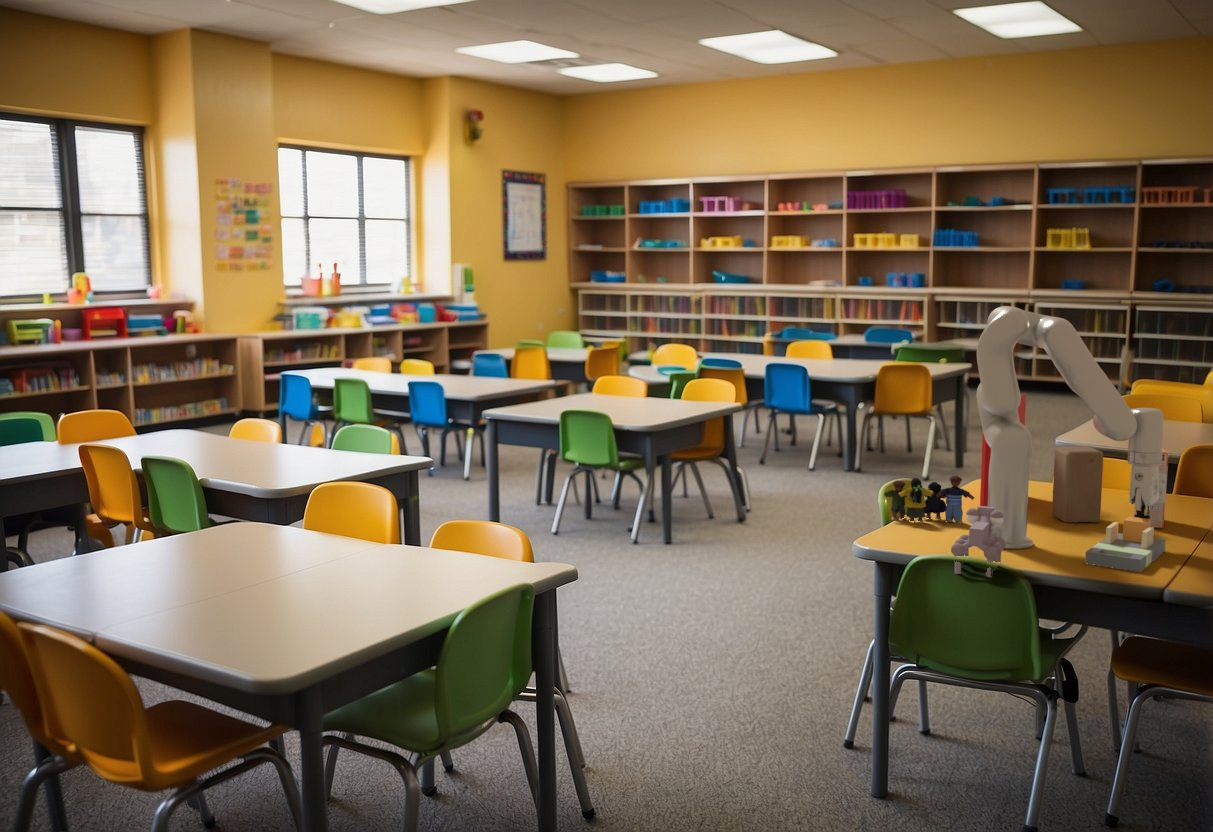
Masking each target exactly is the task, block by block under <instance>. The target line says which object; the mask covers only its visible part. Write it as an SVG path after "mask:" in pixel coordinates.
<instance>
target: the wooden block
mask: <svg viewBox="0 0 1213 832" xmlns="http://www.w3.org/2000/svg"><path fill="white" fill-rule="evenodd" d="M1103 469H1104V452H1103V451H1101V450H1099V449H1096V448H1093V447H1090V446H1086V445H1085V446H1084V445H1083V446H1082V445H1078V446H1077V445H1076V446H1075V445H1074V446H1073V445H1071V446H1068V445H1067V446H1056V447H1055V449H1054V464H1053V481H1052V483H1053V484H1052V485H1053V486H1052V487H1053V488H1052V507H1051V513H1052V516H1053V517H1054V518H1057V519H1059V520H1060V521H1062V522H1064V523H1066V522H1097V523H1099V522H1100V521H1101V513H1102V512H1101V510H1102V490H1103V489H1102V488H1103V473H1104V472H1103Z"/></svg>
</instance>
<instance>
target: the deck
mask: <svg viewBox="0 0 1213 832" xmlns="http://www.w3.org/2000/svg"><path fill="white" fill-rule="evenodd" d="M1119 523H1120V522H1117V521H1114V522H1112V523H1110V524H1109V525H1108V526H1106V529H1105V537H1104V538H1103V539H1102V540H1101V541H1099V542H1098V543H1097V544H1095V545H1093V546H1092V547H1090V548H1089V549H1088V550H1086V551H1085V558H1084V561H1085V562H1084V564H1085V563H1088V564H1095V565H1100V566H1099V567H1101V566H1107V567H1106V568H1108V567H1113V568H1112V569H1114V568H1118V569H1117V570H1121V569H1123V571H1127V570H1129V572H1135V573H1142V571H1144V570H1145V569H1146V568H1147V567H1149V566H1150V565H1151V564H1150V563H1151V562H1152V561H1153V562H1154V561H1155V560H1157V559H1158V558H1159V557H1160V556H1162V554H1164V553H1165V552H1166V544H1167V543H1166V541H1167V539H1166V538H1160V537H1154V536H1155V535H1154V534H1155V528H1154V527H1148V528H1147V529H1146V530H1144V531H1143V532H1142V543H1140V542H1133V541H1126V540H1123V532H1121V533H1120V532H1119ZM1163 552H1164V553H1163ZM1158 556H1159V557H1158ZM1156 558H1157V559H1156ZM1153 562H1152V563H1153ZM1088 564H1087V565H1088ZM1095 565H1094V566H1095ZM1144 568H1145V569H1144ZM1143 569H1144V570H1143Z"/></svg>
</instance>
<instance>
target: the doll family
mask: <svg viewBox="0 0 1213 832" xmlns="http://www.w3.org/2000/svg"><path fill="white" fill-rule="evenodd" d="M962 481H963V479H962V477H960V476H959V475H953V476H951V477H950V478H949V482H950V484H951V487H946V488H944V487H942V485H941V484H940V483H939V482H936V481H932V482H930V483H929V484H928V487H927V488H925V487H923V484H922V481H921V480H920V479H919V478H918V477H913V478H912V479H911V481H910V485H909V487H907V488H906V489H904V487H905V486H906V482H905V481H903V480H894V482H893V483H892V486H894V487H893V488H894V489H890V490H887V491H885V492H884V495H883V496H884V497H886V498H891V507H890V511H891V514H892V516H891V520H892V521H898V520H899V519H902V518H904V517H906V518H907V517H908V518H909V519H908V520H910V521H915V519H916V520H918V521H920V522H923V521H924V520H923V518H924V517H926V518H929V519H931V518H932V515H931V514H934V515H936V516H935V517H934V518H935V519H941V518H942V517H941V514H942V513H945V515H944V516H945V520H944V522H945V521H947V522H952V523H953V520H954V522H955V523H956V522H957V524H962V523H963V520H962V519H963V514H964V513H963V506H962V505H963V499H962V498H963V497H964V498H969V499H970V500H972V501H973V500H975V496H974V495H972V494H971V493H970V492H969V491H967V490H965V489H963V488H961V487H959V486H960V484H961V482H962ZM925 498H926V499H925ZM944 499H945V500H944ZM906 508H907V510H906ZM898 514H899V516H897V515H898ZM905 515H906V516H905ZM935 519H934V520H935ZM941 520H942V519H941ZM947 522H946V523H947Z"/></svg>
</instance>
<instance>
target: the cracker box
mask: <svg viewBox="0 0 1213 832" xmlns="http://www.w3.org/2000/svg"><path fill="white" fill-rule="evenodd" d="M1169 456H1170V453H1169V452H1168V451H1167V450H1166V449H1165V448H1163V447H1162V461H1161V465H1160V466H1158V467H1159V499H1158V501H1156V502H1155V503H1154V504H1152V505H1151V506H1150V514H1149V515H1150V519H1151V526H1150V527H1154V529H1161V530H1162V529H1164V528H1165V527H1164V525H1165V512H1166V496H1167V483H1168V471H1169V470H1168V469H1169ZM1133 510H1134V511H1133V516H1134V515H1135V507H1134V509H1133Z"/></svg>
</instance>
